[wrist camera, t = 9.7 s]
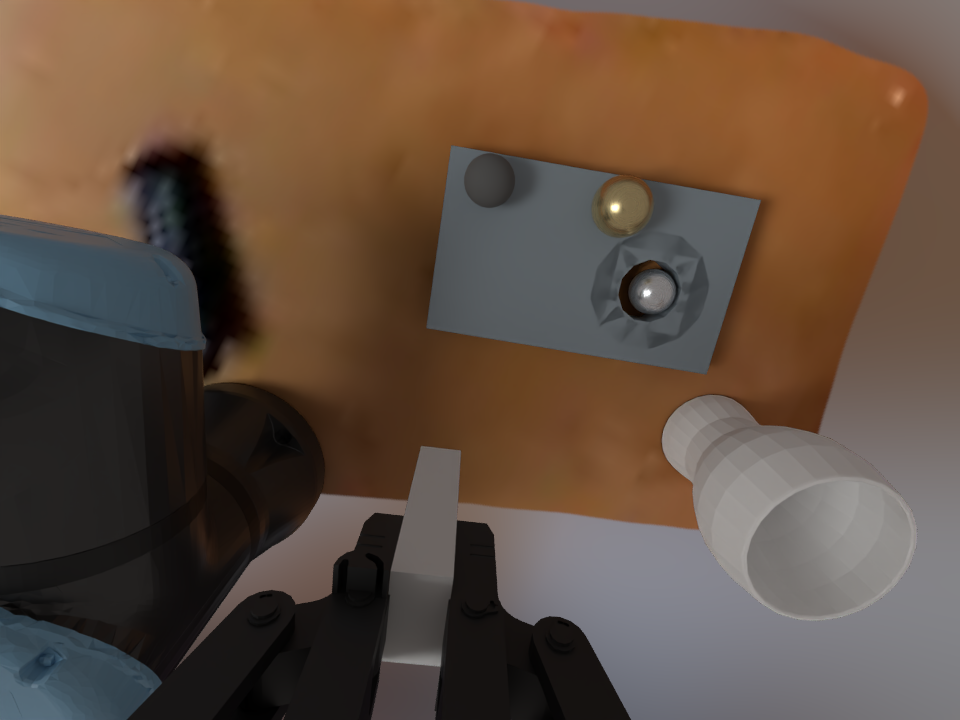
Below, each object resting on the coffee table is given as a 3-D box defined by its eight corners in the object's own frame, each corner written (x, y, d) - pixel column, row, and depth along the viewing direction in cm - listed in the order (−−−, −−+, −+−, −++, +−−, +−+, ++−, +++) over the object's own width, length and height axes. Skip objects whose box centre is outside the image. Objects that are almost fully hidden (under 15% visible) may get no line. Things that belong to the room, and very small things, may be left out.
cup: (711, 352, 38) (848, 427, 24) (794, 431, 40) (969, 545, 26) (619, 441, 40) (692, 559, 26) (701, 512, 42) (812, 658, 28)
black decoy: (461, 204, 33) (459, 201, 30) (469, 153, 32) (467, 144, 29) (508, 212, 33) (511, 210, 30) (517, 161, 32) (521, 154, 29)
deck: (430, 321, 38) (426, 328, 35) (453, 151, 34) (451, 145, 32) (692, 365, 39) (706, 374, 36) (742, 202, 35) (760, 200, 33)
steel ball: (621, 303, 38) (623, 312, 35) (634, 262, 37) (637, 266, 33) (664, 313, 37) (670, 323, 34) (679, 272, 36) (686, 278, 33)
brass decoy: (580, 232, 33) (592, 232, 30) (592, 173, 32) (607, 166, 28) (634, 241, 34) (653, 243, 30) (649, 183, 32) (670, 177, 29)
